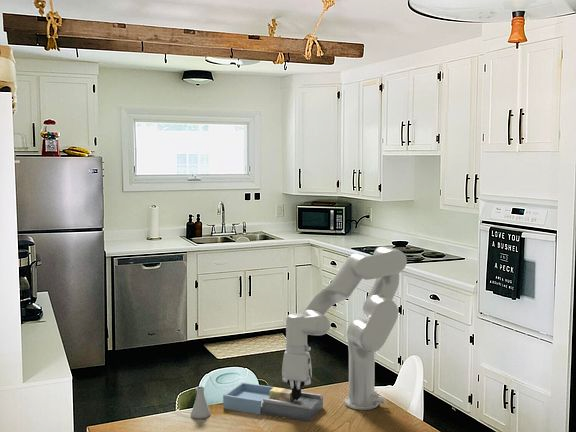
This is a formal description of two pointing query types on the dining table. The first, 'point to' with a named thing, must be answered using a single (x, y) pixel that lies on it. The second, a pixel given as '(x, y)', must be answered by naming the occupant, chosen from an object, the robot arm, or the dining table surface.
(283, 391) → the beige square block
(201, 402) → the flask
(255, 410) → the tray
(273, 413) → the slot block
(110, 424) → the dining table surface
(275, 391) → the olive yellow block
